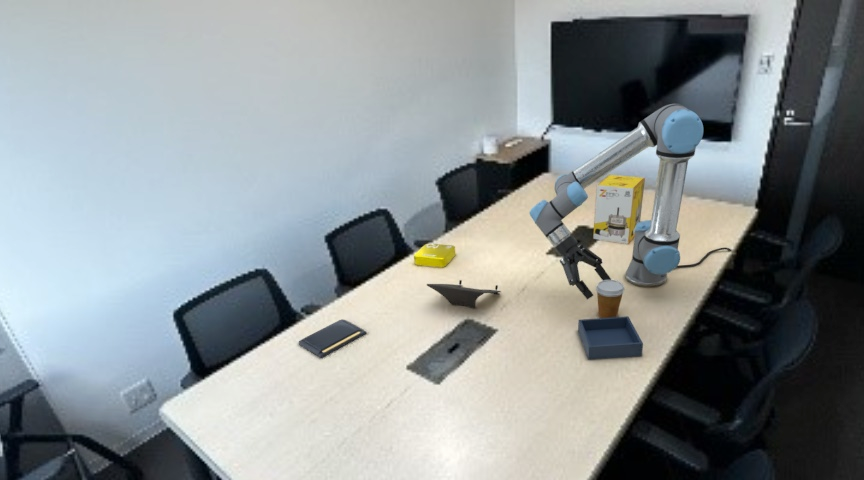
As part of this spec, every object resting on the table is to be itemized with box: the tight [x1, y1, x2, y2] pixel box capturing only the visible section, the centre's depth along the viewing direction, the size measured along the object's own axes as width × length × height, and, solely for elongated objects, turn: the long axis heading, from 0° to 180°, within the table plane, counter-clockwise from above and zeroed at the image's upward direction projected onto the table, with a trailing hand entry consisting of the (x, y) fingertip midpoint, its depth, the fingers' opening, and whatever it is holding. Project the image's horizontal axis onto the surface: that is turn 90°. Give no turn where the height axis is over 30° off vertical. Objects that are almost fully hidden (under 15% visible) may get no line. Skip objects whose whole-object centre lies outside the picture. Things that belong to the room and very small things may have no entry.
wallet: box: [298, 319, 367, 359], centre depth 190 cm, size 20×2×15 cm
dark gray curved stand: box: [426, 279, 502, 309], centre depth 204 cm, size 23×23×9 cm
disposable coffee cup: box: [595, 279, 626, 318], centre depth 187 cm, size 10×10×12 cm
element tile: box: [413, 243, 456, 268], centre depth 240 cm, size 15×15×5 cm
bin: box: [577, 316, 644, 361], centre depth 174 cm, size 17×17×5 cm
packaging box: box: [592, 174, 646, 245], centre depth 242 cm, size 16×16×25 cm
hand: (599, 289), depth 187 cm, fingers open, 13 cm apart
